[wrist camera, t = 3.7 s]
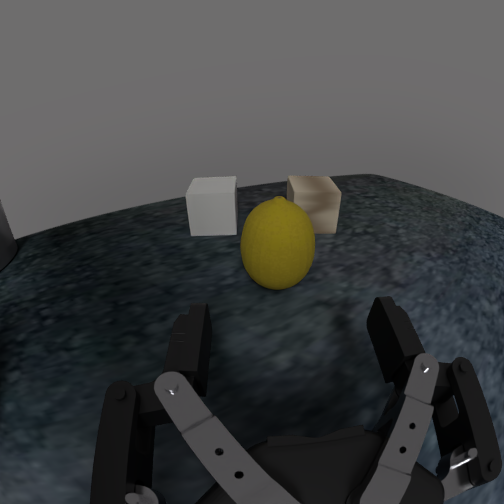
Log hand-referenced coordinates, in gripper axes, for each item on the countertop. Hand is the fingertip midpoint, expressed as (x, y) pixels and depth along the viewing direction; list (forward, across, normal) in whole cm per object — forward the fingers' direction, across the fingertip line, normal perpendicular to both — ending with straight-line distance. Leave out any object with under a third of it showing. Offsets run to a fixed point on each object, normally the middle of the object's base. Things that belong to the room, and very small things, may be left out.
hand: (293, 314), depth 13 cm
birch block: (+20, -5, +6) cm, 21 cm away
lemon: (+8, 0, +6) cm, 10 cm away
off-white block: (+20, +6, +6) cm, 21 cm away
